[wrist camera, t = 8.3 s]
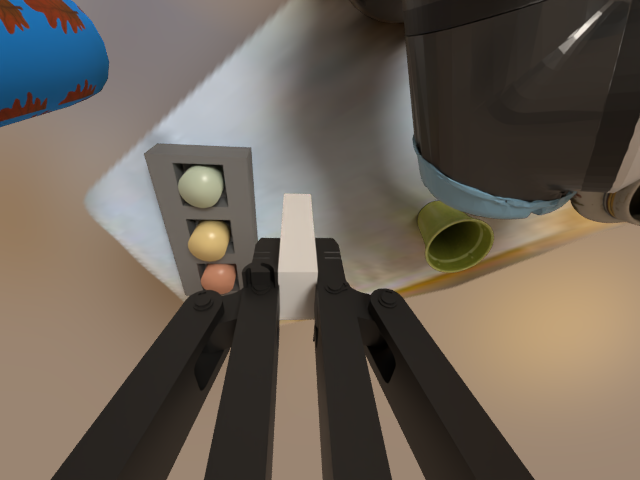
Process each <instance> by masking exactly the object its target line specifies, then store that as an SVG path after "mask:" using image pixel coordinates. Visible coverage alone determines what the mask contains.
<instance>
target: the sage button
mask: <svg viewBox="0 0 640 480" xmlns="http://www.w3.org/2000/svg"><path fill="white" fill-rule="evenodd" d="M224 187H225V177H224V171H223V170H222V168H221V167H220V166H219V165H214V164H192V165H191V166H190V167H189V168H188V170H187V171H186V172H185V173H184V175H183V176H182V177H181V178H180V180H179V183H178V189H179V193H180V195H181V196H182V198H183V199H184V200H185V201H186V202H187V203H189V204H191V205H192V206H195V207H199V208H208V207H211V206H213V205H215V204H216V203H217V201H218V200H219V198H220V196H221V194H222V191H223V189H224Z"/></svg>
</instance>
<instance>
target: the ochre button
mask: <svg viewBox="0 0 640 480" xmlns="http://www.w3.org/2000/svg"><path fill="white" fill-rule="evenodd" d="M230 237H231V230H230V227H229V226H228V224H227V223H226V222H224V221H223V220H205V219H202V220H200V221H199V222H198V224H197V226H196V228H195V230H194V232H193V233H192V235H191V237H190V239H189V241H188V248H189V250H190V252H191V253H192V254H193V255H194V256H195V257H196V258H198V259H200V260H203V261H209V262H211V261H217V260H219V259H221V258H222V257H223V256H224V255H225V252H226V249H227V246H228V243H229V240H230Z"/></svg>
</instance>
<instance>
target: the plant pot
mask: <svg viewBox="0 0 640 480" xmlns="http://www.w3.org/2000/svg"><path fill="white" fill-rule="evenodd" d="M417 223H418V226H419V229H420V232H421V234H422V237H423V240H424V243H425V258H426V261H427V263H428V264H429V265H430V266H431V267H432V268H433V269H435V270H437V271H440V272H446V273H454V272H459V271H463V270H466V269H468V268H470V267H472V266H474V265H476V264H477V263H479V262H480V261H481V260H482V259H483V258H484V257H485V256H486V255H487V254H488V252H489V251H490V249H491V247H492V245H493V241H494V233H493V230H492V228H491V227H490V226H489V225H488V224H487V223H485V222H484V221H481V220H478V219H474V218H471V217H469V216H468V215H466V214H465V213H464V212H462V211H459V210H456V209H454V208H452V207H450V206H448V205H446V204H444V203H443V202H441V201H434V202H431V203H429V204H427V205H426V206H425V207H424V208H423V209H422V210H421V211H420V213H419V216H418V221H417Z"/></svg>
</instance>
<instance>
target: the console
mask: <svg viewBox="0 0 640 480" xmlns="http://www.w3.org/2000/svg"><path fill="white" fill-rule="evenodd" d="M144 156H145V159H146V162H147V166H148V169H149V173H150V176H151V179H152V183H153V186H154V190H155V193H156V196H157V200H158V203H159V207H160V210H161V213H162V217H163V220H164V224H165V227H166V230H167V234H168V237H169V241H170V244H171V247H172V251H173V254H174V258H175V261H176V264H177V268H178V271H179V275H180V278H181V281H182V285H183V288H184V292H185V295H192V294H194V293H196V292H198V291H202V290H205V289H204V288H203V286H202V284H201V278H202V276H203V273H204V270H205V268H206V265H207V264H236V266H237V274H236V278H235V282H234V286H233V289H232V290H231V291H230V292H228V293H225V294H220V295H229V294H232V293H235V292H237V291H239V290H241V289H242V288H243V280H242V270H243V268H244V267H245V266H247V265H248V264H250V263H252V260H253V255H254V249H255V244H256V243H257V242H258V236H257V223H256V209H255V196H254V182H253V168H252V155H251V148H247V147H224V146H201V145H179V144H156V145H155V146H153V147H152V148H151V149H149V150H148V151H147V152H146V153H144ZM192 164H214V165H219V166H220V167H221V168H222V170H223V171H224V177H225V187H224V189H223V191H222V194H221V196H220V198H219V200H218V201H217V203H216V204H215V205H213V206H211V207H208V208H199V207H195V206H192V205H191V204H189V203H187V202H186V201H185V200H184V199H183V198H182V196H181V195H180V193H179V189H178V183H179V180H180V178H181V177H182V176H183V175H184V173H185V172H186V171H187V170H188V168H189V167H190V166H191V165H192ZM202 219H205V220H223V221H224V222H226V223H227V224H228V226H229V227H230V230H231V237H230V240H229V243H228V246H227V249H226V252H225V255H224V256H223V257H222V258H221V259H219V260H217V261H211V262H209V261H203V260H200V259H198V258H196V257H195V256H194V255H193V254H192V253H191V252H190V250H189V248H188V241H189V239H190V237H191V235H192V233H193V232H194V230H195V228H196V226H197V224H198V222H199V221H200V220H202Z"/></svg>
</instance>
